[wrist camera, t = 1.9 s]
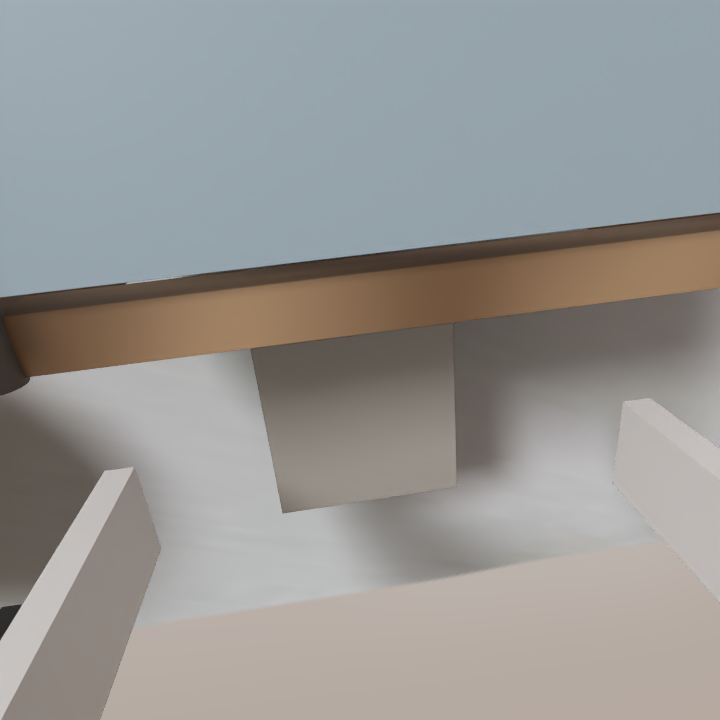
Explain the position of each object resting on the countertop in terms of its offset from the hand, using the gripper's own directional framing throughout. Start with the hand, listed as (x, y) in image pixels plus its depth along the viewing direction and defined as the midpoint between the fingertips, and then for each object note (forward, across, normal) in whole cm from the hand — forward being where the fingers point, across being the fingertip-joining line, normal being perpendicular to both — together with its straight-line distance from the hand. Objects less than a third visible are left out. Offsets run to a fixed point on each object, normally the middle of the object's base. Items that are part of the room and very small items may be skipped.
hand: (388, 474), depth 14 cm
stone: (+9, 0, 0) cm, 9 cm away
